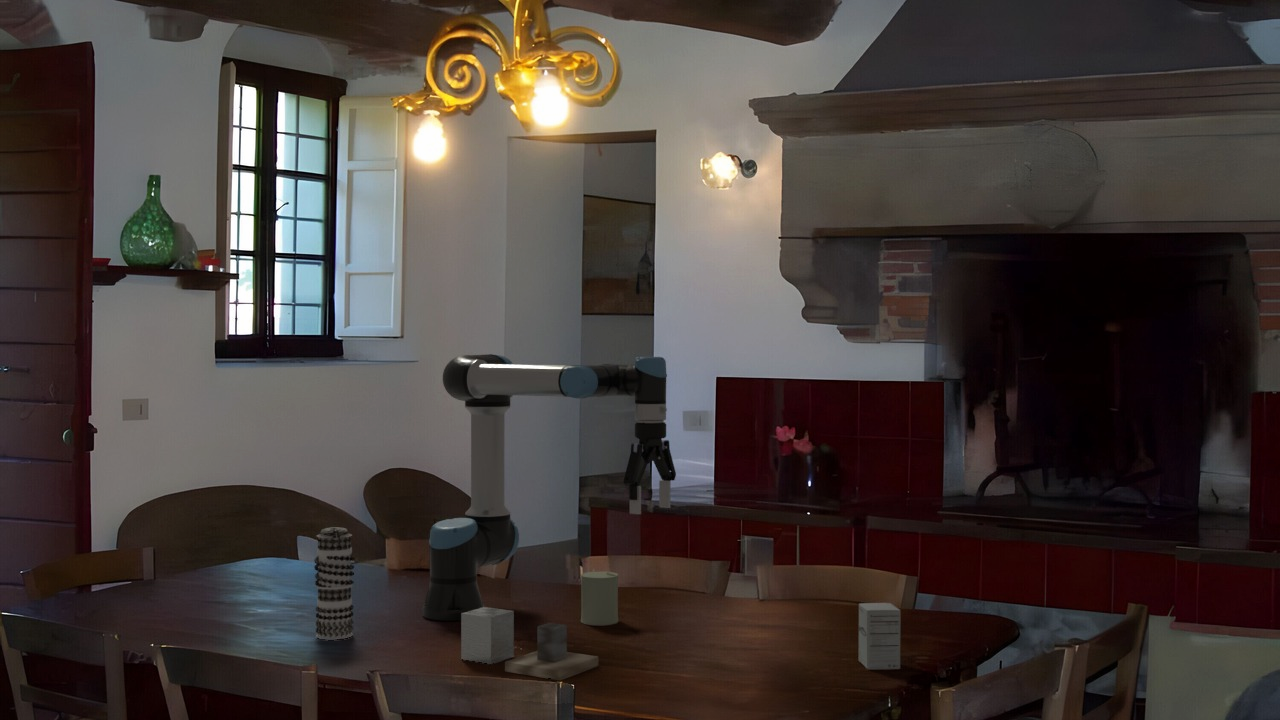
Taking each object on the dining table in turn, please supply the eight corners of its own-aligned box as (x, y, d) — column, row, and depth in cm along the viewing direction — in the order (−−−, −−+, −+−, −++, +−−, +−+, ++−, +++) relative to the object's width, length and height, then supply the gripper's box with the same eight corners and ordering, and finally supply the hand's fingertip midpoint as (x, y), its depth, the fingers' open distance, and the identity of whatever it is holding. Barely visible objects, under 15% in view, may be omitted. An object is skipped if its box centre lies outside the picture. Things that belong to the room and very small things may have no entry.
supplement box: (857, 661, 286) (857, 602, 286) (891, 660, 287) (891, 602, 287) (866, 670, 279) (866, 609, 279) (901, 669, 279) (901, 609, 279)
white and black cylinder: (362, 633, 312) (362, 526, 312) (341, 642, 303) (341, 532, 303) (328, 630, 315) (328, 525, 315) (306, 639, 306) (306, 530, 306)
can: (613, 626, 320) (613, 576, 320) (576, 624, 322) (576, 575, 322) (622, 618, 329) (622, 570, 329) (585, 616, 331) (585, 568, 331)
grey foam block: (461, 659, 287) (461, 613, 287) (484, 652, 294) (484, 607, 294) (490, 664, 283) (490, 617, 283) (513, 656, 290) (513, 610, 289)
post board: (504, 671, 277) (504, 628, 277) (544, 657, 289) (544, 616, 289) (560, 680, 270) (560, 636, 270) (598, 666, 282) (598, 623, 282)
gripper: (636, 425, 305) (636, 517, 306) (690, 419, 326) (689, 506, 327) (608, 423, 309) (608, 515, 309) (663, 418, 330) (663, 504, 331)
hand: (650, 510), depth 318 cm, fingers open, 13 cm apart
